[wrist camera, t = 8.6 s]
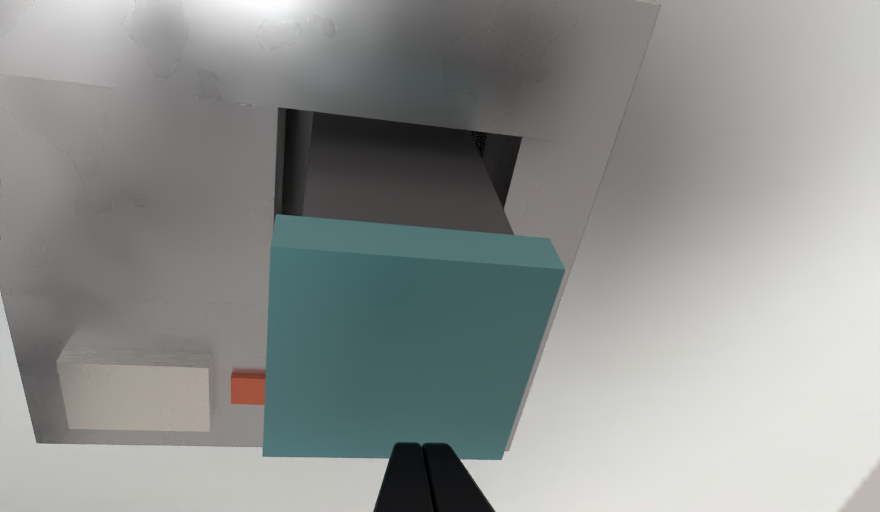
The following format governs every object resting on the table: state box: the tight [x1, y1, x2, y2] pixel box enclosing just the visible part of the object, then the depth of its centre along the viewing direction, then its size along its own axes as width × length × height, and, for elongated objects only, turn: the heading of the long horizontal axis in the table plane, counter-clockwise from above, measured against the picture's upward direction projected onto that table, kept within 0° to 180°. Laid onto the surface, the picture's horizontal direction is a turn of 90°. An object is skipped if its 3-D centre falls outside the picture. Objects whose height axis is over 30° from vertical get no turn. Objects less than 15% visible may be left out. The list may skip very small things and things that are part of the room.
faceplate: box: [0, 0, 661, 451], centre depth 17 cm, size 14×14×4 cm
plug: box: [263, 112, 566, 460], centre depth 15 cm, size 5×5×8 cm
